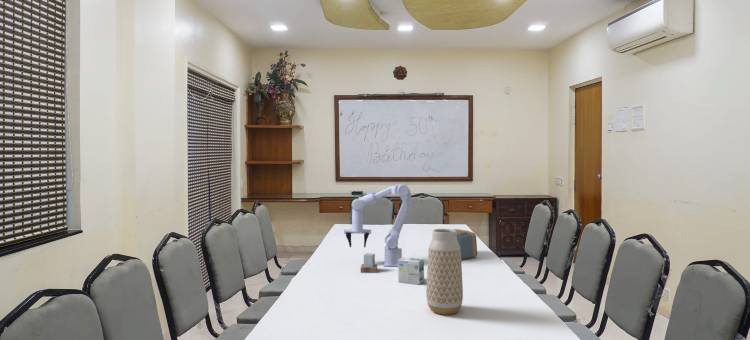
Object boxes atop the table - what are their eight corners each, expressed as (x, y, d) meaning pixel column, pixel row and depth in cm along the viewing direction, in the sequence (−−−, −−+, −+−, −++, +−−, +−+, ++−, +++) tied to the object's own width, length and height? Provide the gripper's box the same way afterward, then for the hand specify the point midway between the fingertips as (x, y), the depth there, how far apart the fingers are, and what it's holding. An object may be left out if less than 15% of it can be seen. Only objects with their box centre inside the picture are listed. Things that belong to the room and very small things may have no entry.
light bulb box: (424, 281, 214) (424, 258, 214) (419, 285, 208) (419, 261, 208) (403, 278, 219) (403, 256, 218) (397, 282, 213) (397, 259, 212)
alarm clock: (478, 257, 261) (478, 230, 261) (458, 261, 252) (458, 233, 252) (458, 252, 275) (458, 226, 274) (438, 256, 266) (438, 229, 265)
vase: (438, 319, 166) (438, 235, 164) (419, 307, 178) (419, 229, 177) (470, 313, 171) (470, 232, 170) (449, 302, 184) (450, 226, 182)
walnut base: (377, 269, 237) (377, 264, 237) (376, 273, 229) (376, 268, 229) (361, 269, 238) (361, 264, 238) (360, 273, 230) (360, 267, 230)
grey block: (374, 265, 235) (374, 253, 235) (372, 267, 231) (372, 255, 230) (366, 264, 236) (366, 253, 236) (363, 266, 232) (363, 255, 232)
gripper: (371, 220, 248) (371, 245, 248) (344, 220, 248) (345, 245, 249) (370, 222, 241) (370, 248, 241) (343, 222, 241) (343, 248, 242)
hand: (357, 246), depth 245 cm, fingers open, 7 cm apart
